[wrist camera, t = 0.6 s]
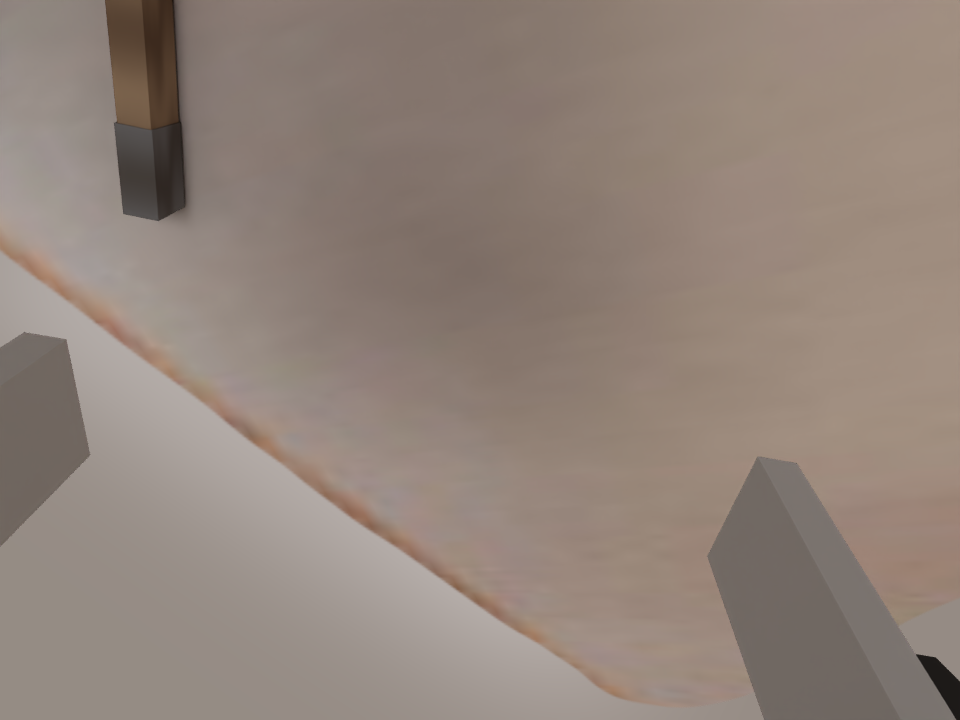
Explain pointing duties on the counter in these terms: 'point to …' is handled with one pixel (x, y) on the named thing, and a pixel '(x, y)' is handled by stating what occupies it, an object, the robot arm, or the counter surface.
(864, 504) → the counter surface
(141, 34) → the base
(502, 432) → the counter surface
